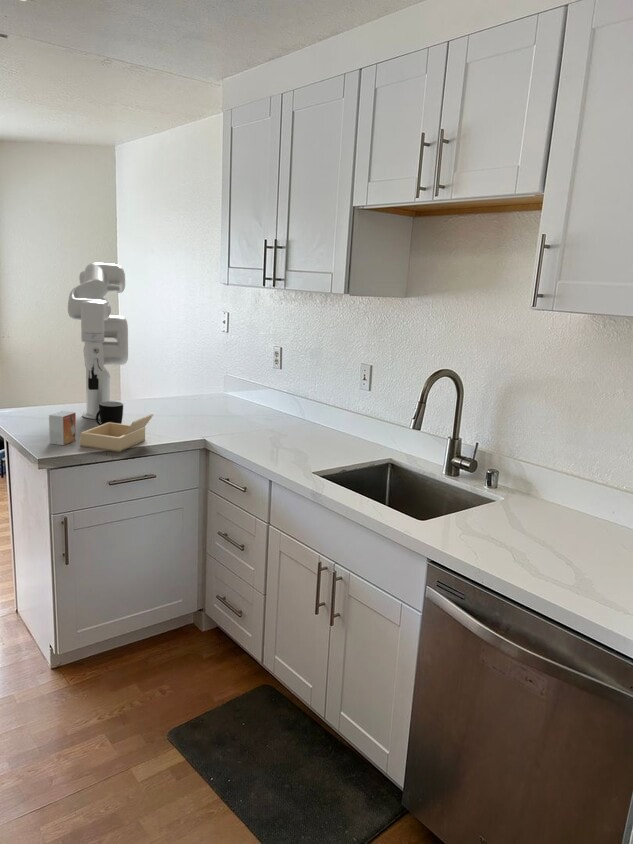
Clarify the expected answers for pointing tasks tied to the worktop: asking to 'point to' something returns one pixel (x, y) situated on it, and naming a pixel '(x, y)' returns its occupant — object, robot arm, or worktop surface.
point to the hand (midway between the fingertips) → (93, 389)
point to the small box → (62, 427)
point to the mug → (110, 412)
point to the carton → (111, 437)
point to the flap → (138, 424)
